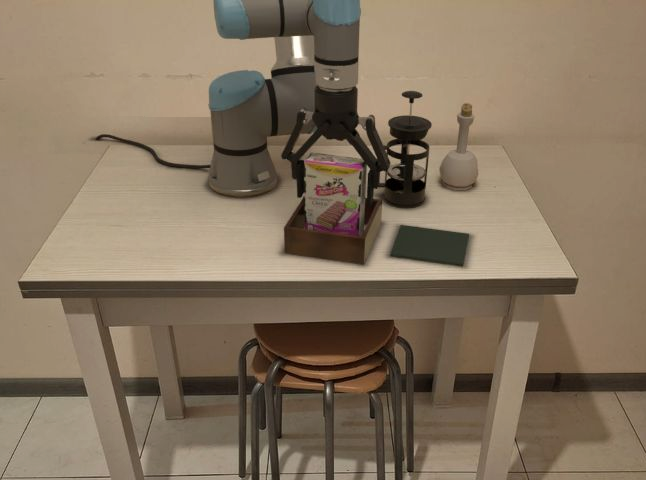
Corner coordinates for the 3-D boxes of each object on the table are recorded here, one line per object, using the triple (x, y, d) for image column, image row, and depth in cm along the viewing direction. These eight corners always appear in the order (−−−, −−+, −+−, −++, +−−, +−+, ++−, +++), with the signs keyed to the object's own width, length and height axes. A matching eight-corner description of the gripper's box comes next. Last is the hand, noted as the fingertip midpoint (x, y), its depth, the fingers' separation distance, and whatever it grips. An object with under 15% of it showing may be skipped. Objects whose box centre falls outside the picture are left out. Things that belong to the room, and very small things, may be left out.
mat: (390, 256, 134) (390, 253, 133) (400, 227, 143) (400, 224, 142) (462, 266, 131) (463, 263, 131) (468, 236, 141) (469, 233, 140)
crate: (284, 253, 133) (283, 227, 130) (308, 214, 146) (307, 190, 143) (364, 264, 131) (365, 238, 128) (381, 223, 144) (382, 199, 140)
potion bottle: (475, 176, 163) (486, 99, 152) (476, 193, 156) (488, 113, 145) (438, 174, 164) (446, 97, 152) (437, 190, 157) (446, 111, 145)
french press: (425, 189, 157) (435, 85, 143) (431, 208, 150) (442, 101, 135) (373, 188, 156) (378, 84, 142) (376, 208, 149) (381, 100, 135)
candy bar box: (304, 240, 138) (302, 161, 127) (310, 228, 141) (309, 151, 131) (359, 248, 136) (362, 168, 125) (364, 235, 140) (367, 157, 129)
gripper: (260, 85, 119) (266, 199, 132) (403, 99, 115) (395, 215, 128) (273, 72, 125) (278, 183, 138) (410, 86, 121) (402, 198, 134)
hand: (335, 199), depth 133 cm, fingers open, 13 cm apart
